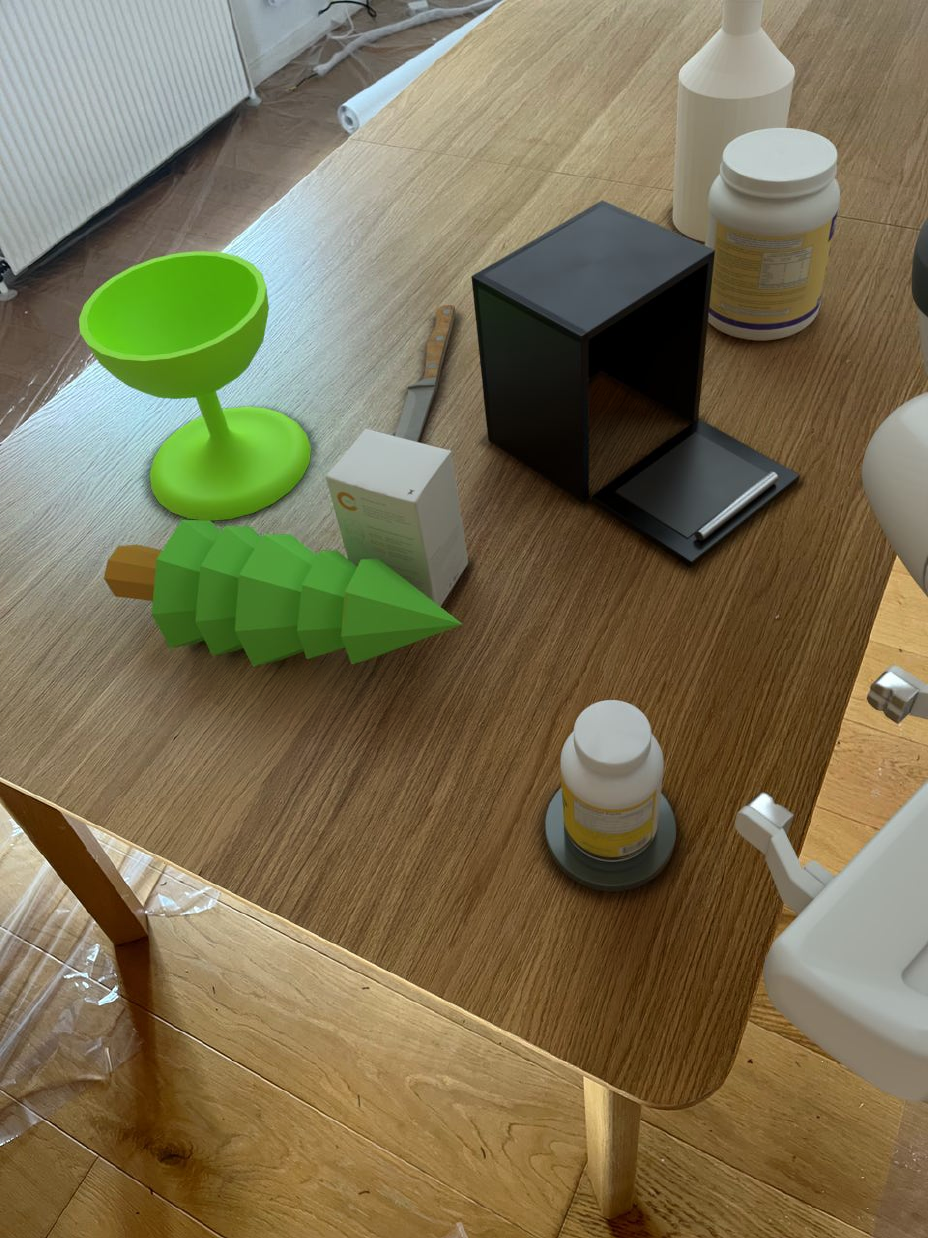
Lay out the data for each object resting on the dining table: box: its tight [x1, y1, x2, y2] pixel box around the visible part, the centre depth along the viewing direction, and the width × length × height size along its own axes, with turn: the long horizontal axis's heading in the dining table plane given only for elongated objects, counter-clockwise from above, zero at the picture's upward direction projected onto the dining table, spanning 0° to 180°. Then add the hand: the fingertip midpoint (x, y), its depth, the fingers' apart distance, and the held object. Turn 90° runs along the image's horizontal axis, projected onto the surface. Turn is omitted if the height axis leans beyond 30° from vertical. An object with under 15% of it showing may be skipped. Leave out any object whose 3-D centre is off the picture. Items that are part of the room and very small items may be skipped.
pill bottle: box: [560, 699, 665, 862], centre depth 66 cm, size 6×6×12 cm
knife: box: [394, 304, 457, 443], centre depth 103 cm, size 31×1×3 cm
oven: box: [471, 199, 801, 569], centre depth 88 cm, size 25×16×18 cm, turn 41°
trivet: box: [544, 786, 677, 893], centre depth 71 cm, size 9×9×1 cm
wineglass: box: [78, 250, 312, 522], centre depth 93 cm, size 16×16×18 cm
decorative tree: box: [103, 519, 463, 667], centre depth 81 cm, size 11×12×30 cm
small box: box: [325, 428, 469, 608], centre depth 83 cm, size 8×6×13 cm
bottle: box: [672, 0, 796, 243], centre depth 110 cm, size 12×12×25 cm
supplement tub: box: [704, 127, 841, 341], centre depth 101 cm, size 12×12×17 cm
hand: (814, 743), depth 46 cm, fingers open, 8 cm apart
